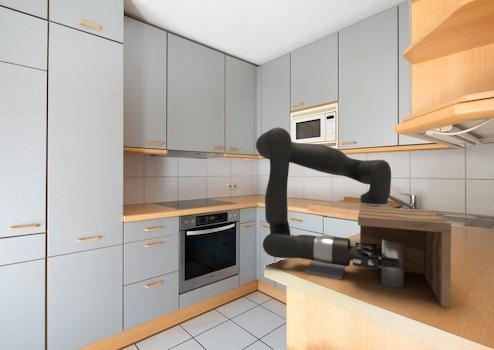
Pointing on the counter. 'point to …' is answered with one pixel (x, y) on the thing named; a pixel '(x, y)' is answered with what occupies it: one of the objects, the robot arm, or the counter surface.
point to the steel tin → (393, 250)
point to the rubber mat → (325, 269)
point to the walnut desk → (414, 242)
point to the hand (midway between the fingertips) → (397, 258)
